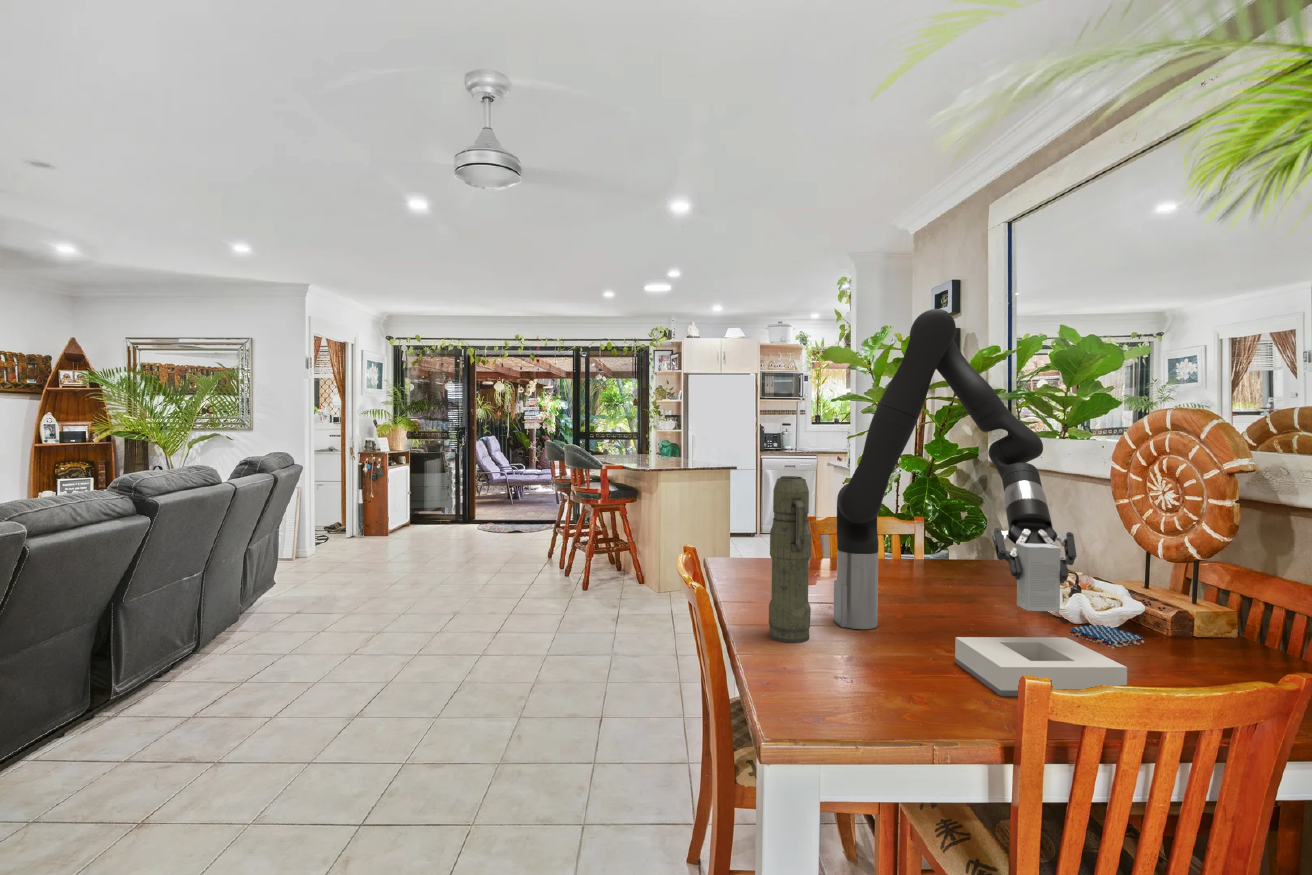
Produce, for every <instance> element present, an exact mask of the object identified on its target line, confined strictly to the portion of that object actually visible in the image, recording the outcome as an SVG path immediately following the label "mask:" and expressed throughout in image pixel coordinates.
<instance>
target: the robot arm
mask: <svg viewBox="0 0 1312 875" xmlns="http://www.w3.org/2000/svg"><path fill="white" fill-rule="evenodd" d="M956 333H957V325H956V322H955V319H954V317H953V316H952V314H951V313H950V312H948V311H947V310H944V309H941V308H933V309H929V310H926V311H924V312H922V313H921V314H919V315H918V316H917V318H916V319H915V320H914V321H913V323H912V325H911V327H910V331H909V340H908V343H907V346H906V348H905V352H904V355H903V358H902V359H901V363H900V365H899V367H898V368H897V370H896V372H895V373H894V375H893V377H892V379H891V380H890V381H889V383H888V385H887V387H886V389H885V391H884V392H883V394H882V396H881V398H880V399H879V402H878V404H877V406H876V409H875V412H874V413H873V416H872V418H871V422H870V424H869V427H868V431H867V433H866V434H867V435H866V438H865V442H864V446H863V451H862V454H861V459H860V460H859V463H858V466H857V467H856V468H855V471H854V473H853V475H852V477H851V479H850V480H849V482H847V483H846V484H844V485H843V486H842V487H841V489H840V490H839V491H838V493H837V497H836V543H837V544H836V579H835V580H833V621H834V622H835V623H836V624H837V625H838V626H840V628H847V629H854V630H873V629H875V628H877V627H878V610H879V609H878V607H879V605H878V600H879V599H878V598H879V597H878V596H879V549H880V548H879V545H880V544H879V535H878V533H879V532H878V515H879V512H880V510H881V508H882V507H881V506H882V504H883V500H884V497H885V494H886V490H887V488H888V485H889V481H890V478H891V475H892V473H893V471H894V468H895V467H896V465H897V463H898V461H899V460H900V458H901V456H902V454H903V452H904V450H905V449H906V446H907V444H908V442H909V440H910V438H911V436H912V434H913V431H914V430H915V427H916V425H917V423H918V420H919V418H920V414H921V412H922V410H923V407H924V405H925V402H926V398H927V395H928V392H929V390H930V386H931V382H932V380H933V377H934V374H935V373H936V370H937V372H938V373H939V374H940V376H942V378H943V379H944V381H945V382H946V383H947V384H948V385H949V387H950V388H951V390H952V391H953V393H954V394H955V396H956V397H957V400H958V401H959V402H960V403H961V405H962V406H963V407H964V409H965V411H966V412H967V413H968V415H969V416H970V418H971V420H972V421H973V422H974V423H975V425H976V426H977V428H978V429H979V430H980V431H981V432H983V433H990V432H993V431H997V430H1004V431H1005V432H1008V434H1007V435H1005V436H1003V437H1001V438H999V439H997V440H995V441H994V442H992V443H991V445H990V446H989V448H988V452H987V453H988V457H989V459H990V461H991V462H992V464H993V466H994V467H995V469H996V470H997V473H998V474H999V476H1000V479H1001V482H1002V488H1003V493H1004V500H1003V501H1004V502H1003V503H1004V510H1005V514H1006V521H1007V525H1008V530H1001V528H999V527H995V528H994V529H993V534H992V541H993V545H994V549H995V553H996V554H995V555H996V558H997V559H998V560H999V561H1003V560H1005V561H1006V562H1008V565H1009V571H1010V575H1011V576H1012V577H1014V580H1016V581H1017V580H1020V577H1021V568H1020V562H1019V558H1017V555H1018V551H1017V544H1018V543H1031V544H1051V545H1054V546H1057V547H1059V546H1058V545H1057V543H1056V541H1058V543H1059V544H1060V546H1062V547H1063V548H1064V552H1062V551H1061V550H1060V584H1064V583H1065V582H1066V581H1067V580H1068V578H1069V575H1070V574H1069V573H1070V572H1069V569H1068V565H1069V566H1073V565H1074V563H1075V560H1076V558H1077V549H1076V543H1075V542H1076V541H1075V535H1074V534H1073V533H1072V531H1071V532H1070V531H1068V532H1066V534H1065V533H1063V534H1061V533H1057V532H1056V531H1055V530H1054V528H1053V524H1052V523H1053V522H1052V518H1051V514H1050V510H1049V505H1048V501H1047V497H1046V494H1045V492H1044V490H1043V485H1042V480H1041V476H1040V473H1039V469H1038V468H1037V467H1036V466H1035V465H1033V464H1031V463H1028V462H1031V461H1032V460H1035V459H1037V458H1039V457H1040V456H1041V455H1042V454H1043V453H1044V452H1043V451H1044V444H1043V443H1044V442H1043V441H1042V439H1041V438H1040V436H1039V435H1038V434H1037V433H1036V432H1035V431H1033V429H1031V427H1029V426H1027V425H1026V424H1024V423H1023V422H1022V421H1021V420H1020V419H1019V418H1017V417H1016V416H1015V414H1013V413H1012V412H1011V411H1010V410H1009V409H1008V407H1007V406H1006V405H1005V403H1004V402H1003V401H1002V399H1001V398H1000V397H999V395H998V394H997V392H996V391H995V390H994V388H993V387H992V385H990V384H989V382H987V380H986V379H985V378H983V377H982V375H981V374H980V373H978V372H977V371H976V369H975V368H974V367H973V366H972V365H971V364H970V363H969V361H968V360H967V359H966V358H965V356H964V355H963V353H962V352H961V350H960V349H959V346H958V345H957V342H956V341H955V336H956ZM1007 538H1008V539H1009V540H1010V541H1011V543H1013V544H1014V545H1013V548H1012V549H1011V551H1008V550H1007V548H1006V544H1005V541H1006V539H1007Z"/></svg>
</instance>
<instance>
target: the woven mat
mask: <svg viewBox="0 0 1312 875" xmlns="http://www.w3.org/2000/svg"><path fill="white" fill-rule="evenodd" d="M1068 632H1069V635H1071V636H1074V637H1076V638H1080V639H1083V640H1085V641H1090V642H1092V643H1096V644H1098V645H1100V646H1101V645H1102V646H1105V647H1108V648H1111V649H1116V648H1123V647H1128V646H1132V645H1136V646H1137V645H1141V644H1145V640H1144V637H1143V636H1140V634H1133V632H1126V631H1125V630H1124V629H1122V630H1119V629H1118V628H1115V627H1114V628H1112V627H1111V626H1109V625H1107V626H1106V627H1105V625H1104V624H1103V625H1100V624H1097V623H1096V624H1094V625H1093V624H1091V625H1089V626H1088V625H1085V626H1082V625H1081V626H1080V627H1078V626H1077V627H1076V626H1075V627H1071V628H1070V630H1069V631H1068Z"/></svg>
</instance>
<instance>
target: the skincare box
mask: <svg viewBox="0 0 1312 875" xmlns="http://www.w3.org/2000/svg"><path fill="white" fill-rule="evenodd" d="M1057 546H1058V545H1057ZM1057 546H1054V545H1051V544H1031V543H1018V544H1017V551H1018V555H1017V558H1019V562H1020V568H1021V577H1020V580H1017V579H1016V605H1017V606H1018V607H1020V608H1022V609H1023V610H1025V611H1027V612H1032V611H1034V612H1035V611H1036V612H1060V608H1061V583H1060V551H1061V547H1059V546H1058V547H1057Z"/></svg>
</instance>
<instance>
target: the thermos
mask: <svg viewBox="0 0 1312 875" xmlns="http://www.w3.org/2000/svg"><path fill="white" fill-rule="evenodd" d="M806 480H807V479H805V478H803V477H802V476H797V475H796V476H793V475H789V476H788V475H783V476H782V475H781V476H780V477H778V478H777V479H776V481H775V484H774V487H773V493H772V494H773V502H772V504H773V505H772V510H773V511H772V513H773V518H772V525H771V528H770V531H769V556H770V558H771V597H770V598H771V599H770V601H769V604H768V624H769V632H768V633H769V635H768V636H769V638H770V639H772V640H775V641H778V642H782V643H793V644H796V643H797V644H798V643H804V642H807V641H809V639H810V627H811V605H810V602H809V571H810V570H809V565H810V564H809V562H810V559H811V557H812V531H811V529H810V526H809V525H810V524H809V523H810V522H809V519H808V514H809V512H810V511H809V510H810V508H809V506H810V490H809V487H808V484H807V481H806Z"/></svg>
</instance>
